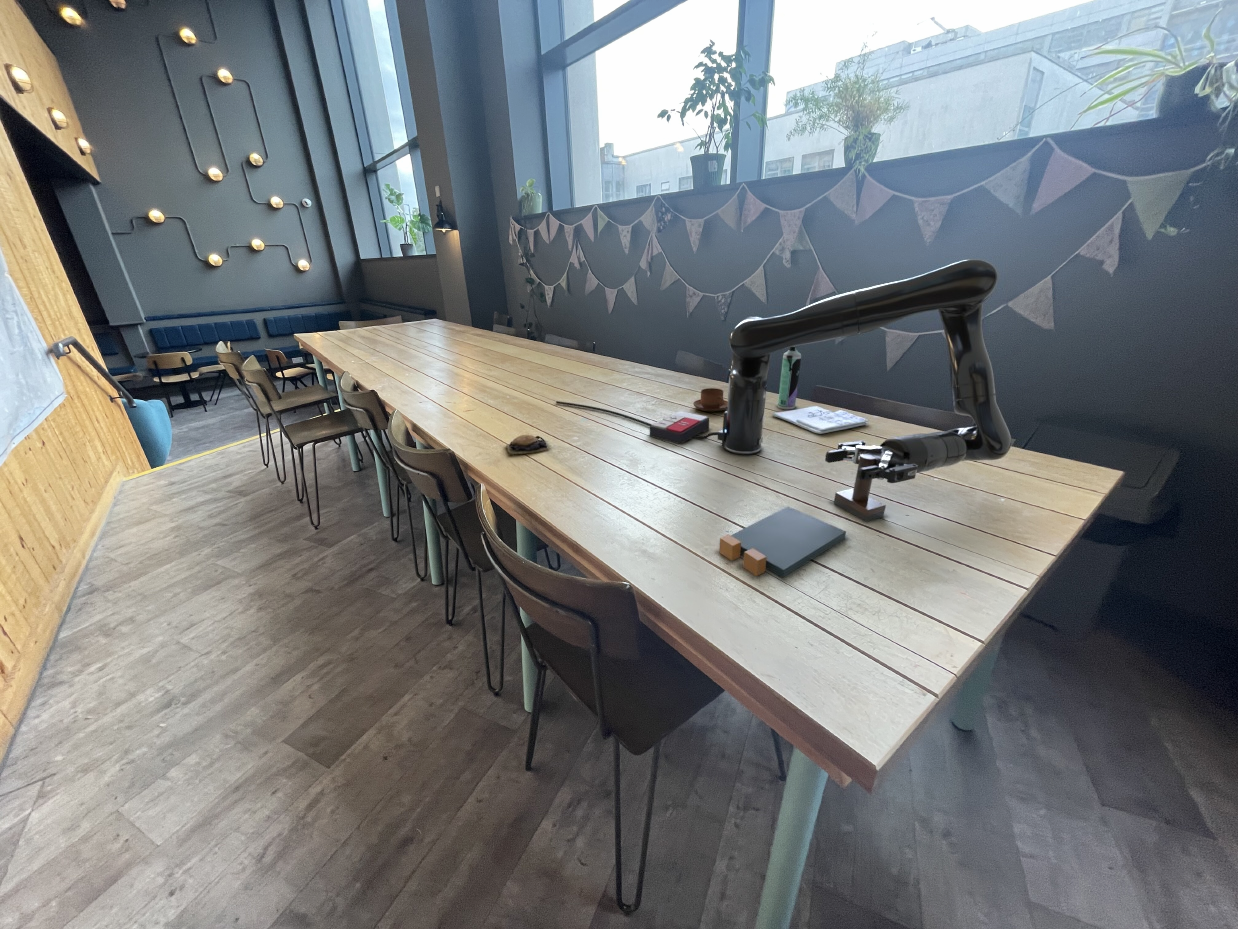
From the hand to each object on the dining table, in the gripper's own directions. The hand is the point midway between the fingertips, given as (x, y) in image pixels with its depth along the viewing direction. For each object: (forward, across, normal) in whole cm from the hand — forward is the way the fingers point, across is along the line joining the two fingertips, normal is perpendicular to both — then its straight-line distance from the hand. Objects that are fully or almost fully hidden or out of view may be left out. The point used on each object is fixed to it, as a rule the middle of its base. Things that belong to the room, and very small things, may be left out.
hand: (842, 465), depth 87 cm
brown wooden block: (+25, +5, +9) cm, 27 cm away
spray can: (-34, -65, +11) cm, 74 cm away
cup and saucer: (-10, -72, +11) cm, 73 cm away
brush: (-6, 0, +10) cm, 12 cm away
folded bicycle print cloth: (-34, -49, +11) cm, 60 cm away
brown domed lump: (+53, -57, +11) cm, 79 cm away
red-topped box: (+9, -54, +11) cm, 56 cm away
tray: (+14, +5, +10) cm, 18 cm away
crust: (+23, +10, +9) cm, 27 cm away
